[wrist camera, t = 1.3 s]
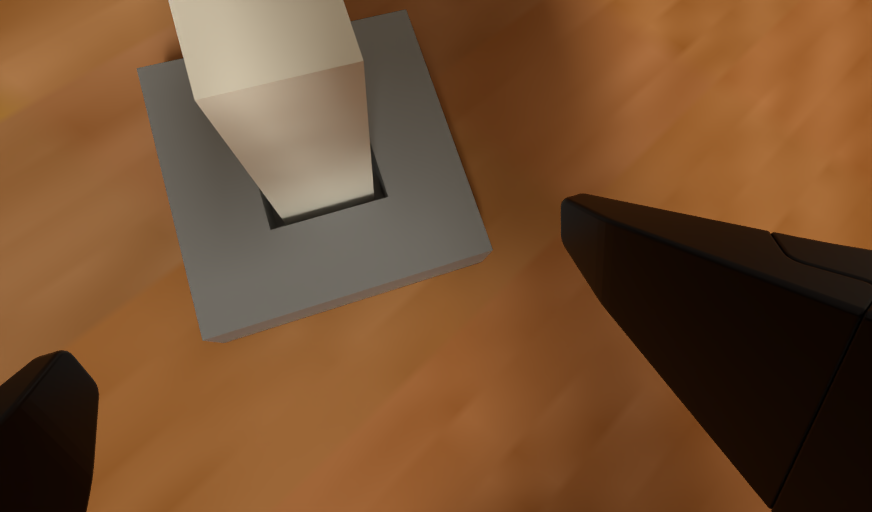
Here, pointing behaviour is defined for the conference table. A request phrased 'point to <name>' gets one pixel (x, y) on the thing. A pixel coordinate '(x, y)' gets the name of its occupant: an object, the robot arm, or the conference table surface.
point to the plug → (283, 97)
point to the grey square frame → (328, 234)
